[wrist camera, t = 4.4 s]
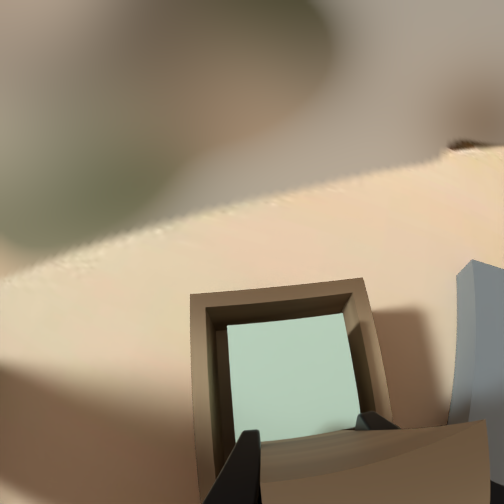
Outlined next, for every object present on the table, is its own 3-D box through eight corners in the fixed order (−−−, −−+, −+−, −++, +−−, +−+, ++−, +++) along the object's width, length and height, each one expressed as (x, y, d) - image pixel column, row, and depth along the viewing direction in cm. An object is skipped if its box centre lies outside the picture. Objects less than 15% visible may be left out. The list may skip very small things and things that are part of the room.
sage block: (334, 426, 12) (362, 425, 8) (243, 438, 11) (235, 443, 8) (322, 343, 14) (342, 313, 10) (236, 352, 14) (226, 325, 10)
